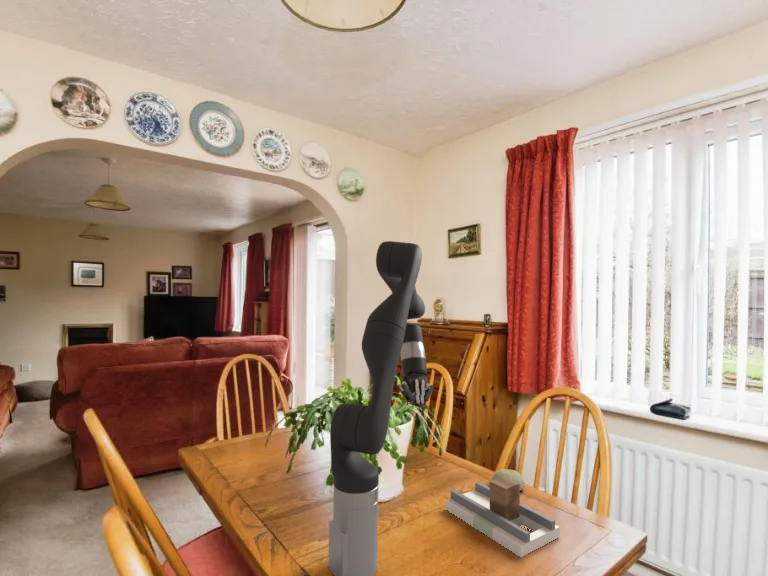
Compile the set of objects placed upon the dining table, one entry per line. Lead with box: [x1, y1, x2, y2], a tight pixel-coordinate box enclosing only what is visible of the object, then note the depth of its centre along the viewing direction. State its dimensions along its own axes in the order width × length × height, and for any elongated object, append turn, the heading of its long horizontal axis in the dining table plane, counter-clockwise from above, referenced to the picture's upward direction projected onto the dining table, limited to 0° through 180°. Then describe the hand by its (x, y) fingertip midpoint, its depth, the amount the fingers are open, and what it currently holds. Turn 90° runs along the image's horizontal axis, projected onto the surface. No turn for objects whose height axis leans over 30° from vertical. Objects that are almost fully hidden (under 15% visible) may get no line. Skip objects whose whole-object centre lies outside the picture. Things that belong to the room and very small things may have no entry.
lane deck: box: [444, 481, 561, 558], centre depth 103 cm, size 14×24×4 cm, turn 34°
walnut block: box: [489, 476, 521, 521], centre depth 102 cm, size 5×5×8 cm
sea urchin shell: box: [491, 468, 526, 491], centre depth 123 cm, size 9×8×8 cm
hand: (419, 417), depth 121 cm, fingers closed
